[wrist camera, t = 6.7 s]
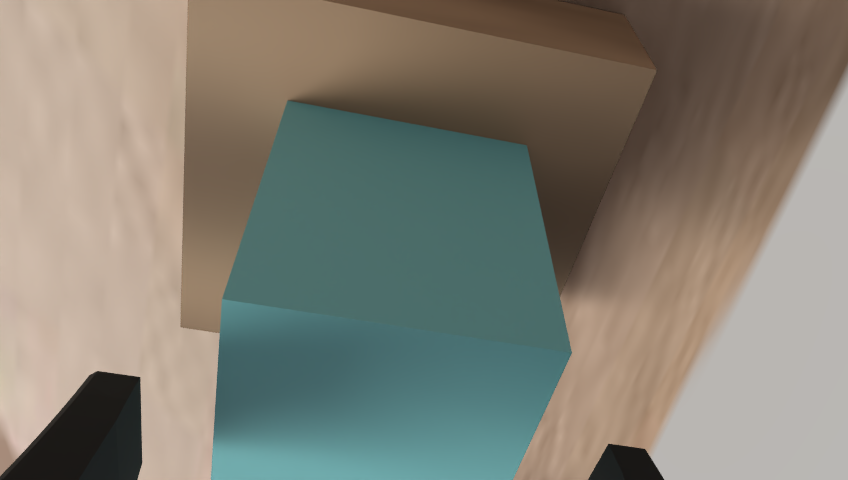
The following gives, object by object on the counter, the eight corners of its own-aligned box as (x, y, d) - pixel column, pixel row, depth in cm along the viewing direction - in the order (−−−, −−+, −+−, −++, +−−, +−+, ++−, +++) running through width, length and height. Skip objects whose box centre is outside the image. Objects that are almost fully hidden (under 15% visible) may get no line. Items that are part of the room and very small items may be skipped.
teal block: (469, 317, 18) (484, 540, 14) (267, 286, 18) (209, 508, 13) (526, 145, 16) (571, 352, 11) (287, 100, 15) (221, 299, 10)
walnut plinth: (513, 303, 22) (524, 379, 20) (208, 253, 21) (180, 326, 19) (624, 15, 17) (657, 70, 15) (224, -73, 16) (188, -28, 13)
